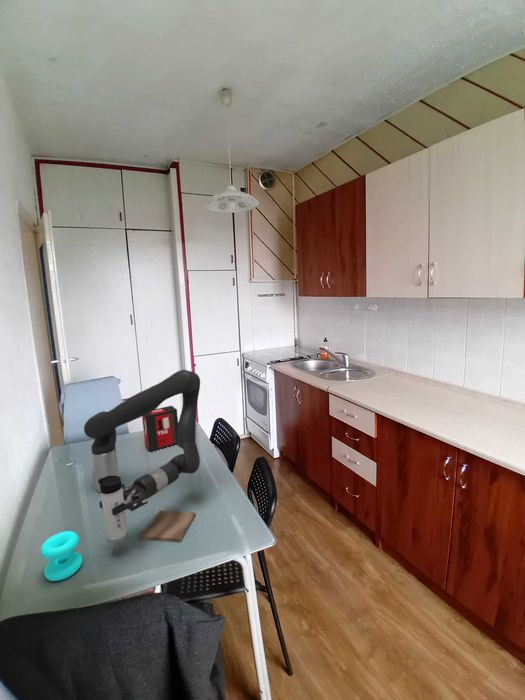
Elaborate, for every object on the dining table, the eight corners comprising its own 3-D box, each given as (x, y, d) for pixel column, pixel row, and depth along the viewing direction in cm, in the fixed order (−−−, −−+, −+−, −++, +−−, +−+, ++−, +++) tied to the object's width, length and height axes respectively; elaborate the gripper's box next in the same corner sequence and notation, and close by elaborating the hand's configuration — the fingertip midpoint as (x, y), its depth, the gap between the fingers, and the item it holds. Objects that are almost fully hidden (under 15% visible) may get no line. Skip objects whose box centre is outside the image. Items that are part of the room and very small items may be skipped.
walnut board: (141, 539, 117) (140, 536, 117) (160, 513, 131) (159, 510, 130) (180, 542, 115) (180, 539, 114) (195, 515, 128) (195, 512, 128)
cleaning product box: (175, 439, 199) (171, 405, 195) (180, 444, 191) (176, 409, 188) (145, 447, 190) (141, 412, 187) (149, 452, 183) (145, 416, 179)
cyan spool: (58, 527, 110) (85, 530, 108) (62, 556, 111) (90, 559, 109) (31, 550, 100) (61, 554, 98) (36, 581, 102) (66, 585, 100)
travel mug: (109, 530, 114) (102, 474, 111) (130, 528, 115) (123, 472, 111) (102, 544, 108) (94, 485, 104) (124, 542, 108) (117, 483, 105)
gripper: (137, 468, 124) (92, 491, 111) (163, 479, 116) (118, 505, 103) (139, 487, 126) (94, 512, 112) (165, 499, 117) (121, 528, 104)
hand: (106, 509), depth 107 cm, fingers closed on travel mug, 6 cm apart
